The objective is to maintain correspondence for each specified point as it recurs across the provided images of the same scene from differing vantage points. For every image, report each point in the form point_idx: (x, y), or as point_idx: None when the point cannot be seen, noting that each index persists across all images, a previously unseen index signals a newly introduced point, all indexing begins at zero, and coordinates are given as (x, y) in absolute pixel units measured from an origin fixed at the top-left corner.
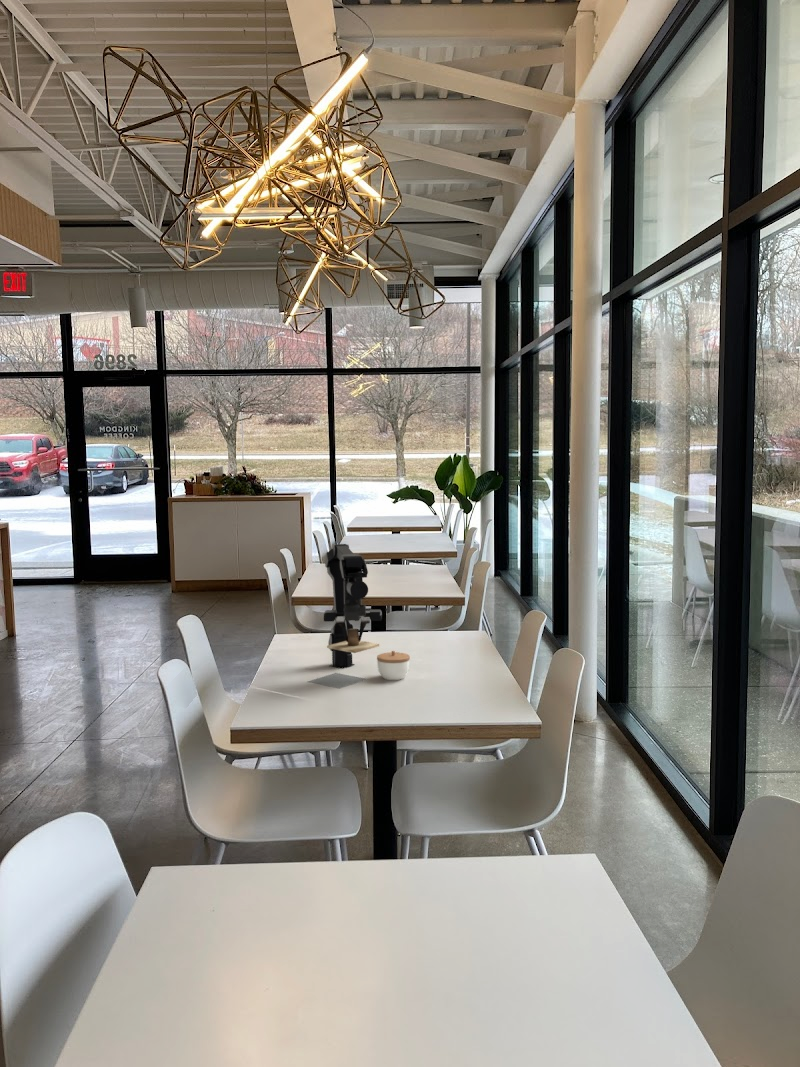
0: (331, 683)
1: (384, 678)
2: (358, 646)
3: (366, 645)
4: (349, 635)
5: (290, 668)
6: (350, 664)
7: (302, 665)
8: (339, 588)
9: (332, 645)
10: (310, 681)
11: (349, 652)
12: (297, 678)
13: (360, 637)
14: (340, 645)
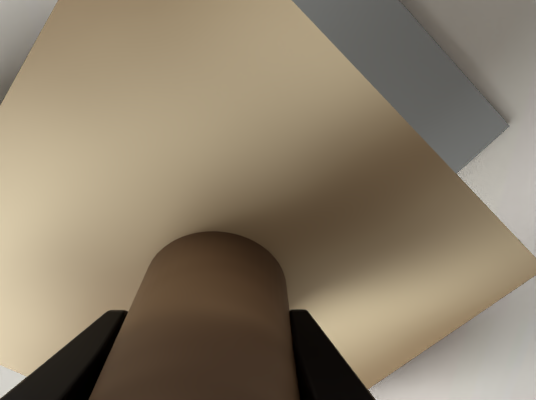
0: (374, 70)
1: None
2: (132, 198)
3: (29, 246)
4: (266, 371)
5: (513, 361)
6: None
7: (456, 393)
8: None
9: (479, 270)
10: (489, 127)
11: None
12: (529, 215)
13: (66, 354)
14: (380, 265)
